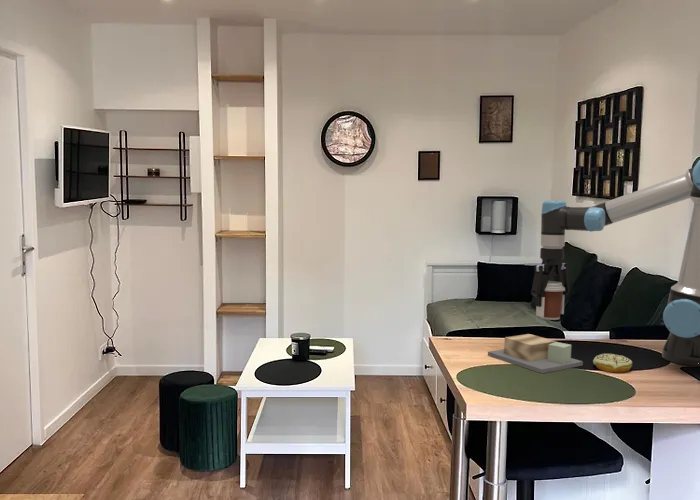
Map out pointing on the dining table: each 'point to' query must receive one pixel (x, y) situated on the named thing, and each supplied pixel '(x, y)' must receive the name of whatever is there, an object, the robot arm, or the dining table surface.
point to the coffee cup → (553, 300)
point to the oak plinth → (527, 347)
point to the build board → (534, 362)
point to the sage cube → (559, 352)
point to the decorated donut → (612, 363)
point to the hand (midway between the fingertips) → (549, 314)
